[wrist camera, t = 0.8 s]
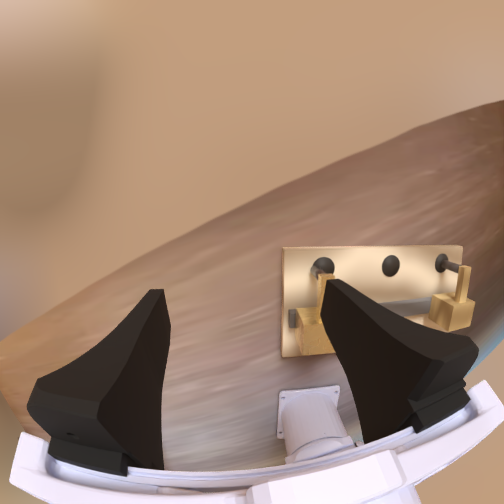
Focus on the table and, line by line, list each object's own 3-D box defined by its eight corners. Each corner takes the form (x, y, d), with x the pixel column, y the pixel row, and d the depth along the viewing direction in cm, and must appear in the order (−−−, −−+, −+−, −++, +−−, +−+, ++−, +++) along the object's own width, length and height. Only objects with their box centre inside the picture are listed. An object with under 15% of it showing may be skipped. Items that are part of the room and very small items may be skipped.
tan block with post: (329, 328, 27) (344, 351, 22) (293, 331, 27) (302, 355, 22) (334, 264, 26) (352, 277, 21) (295, 265, 26) (306, 279, 21)
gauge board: (443, 328, 30) (471, 348, 23) (280, 350, 30) (289, 386, 23) (455, 244, 28) (491, 253, 21) (282, 247, 28) (294, 260, 21)
